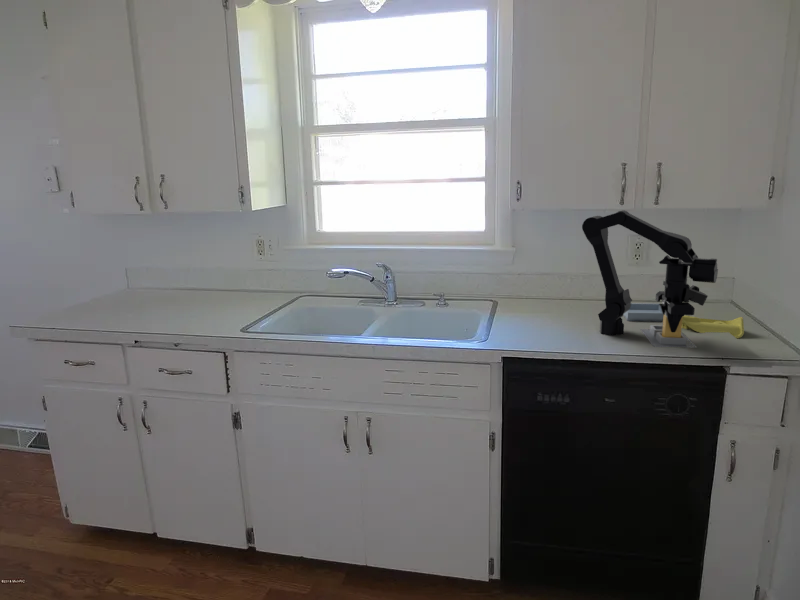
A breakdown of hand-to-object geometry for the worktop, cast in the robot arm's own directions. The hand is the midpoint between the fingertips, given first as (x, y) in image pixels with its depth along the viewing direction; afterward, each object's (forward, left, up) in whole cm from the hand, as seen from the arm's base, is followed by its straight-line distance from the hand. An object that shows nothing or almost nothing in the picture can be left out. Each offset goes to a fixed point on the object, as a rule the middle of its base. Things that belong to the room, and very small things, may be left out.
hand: (671, 330), depth 169 cm
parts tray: (0, +35, -5) cm, 35 cm away
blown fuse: (0, 0, -4) cm, 4 cm away
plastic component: (+15, +17, -6) cm, 23 cm away
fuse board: (0, +4, -5) cm, 6 cm away
